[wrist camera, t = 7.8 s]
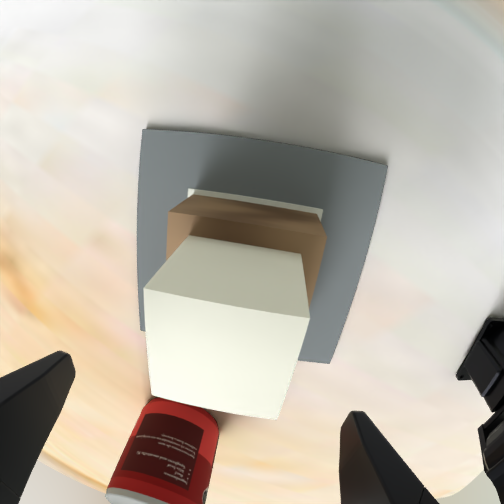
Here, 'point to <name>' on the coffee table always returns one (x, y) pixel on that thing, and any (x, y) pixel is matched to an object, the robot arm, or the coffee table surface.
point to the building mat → (267, 193)
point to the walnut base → (250, 229)
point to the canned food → (166, 456)
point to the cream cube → (226, 326)
